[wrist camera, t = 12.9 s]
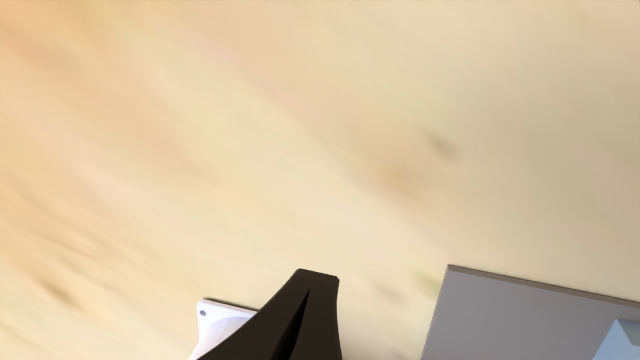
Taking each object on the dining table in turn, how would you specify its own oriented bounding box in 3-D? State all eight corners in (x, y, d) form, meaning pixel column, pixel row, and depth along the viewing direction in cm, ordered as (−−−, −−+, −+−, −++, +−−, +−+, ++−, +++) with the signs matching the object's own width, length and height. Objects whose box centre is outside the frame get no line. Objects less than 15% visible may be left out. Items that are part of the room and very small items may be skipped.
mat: (655, 438, 25) (660, 446, 24) (415, 378, 27) (415, 384, 27) (746, 324, 20) (753, 332, 20) (447, 264, 23) (448, 270, 22)
